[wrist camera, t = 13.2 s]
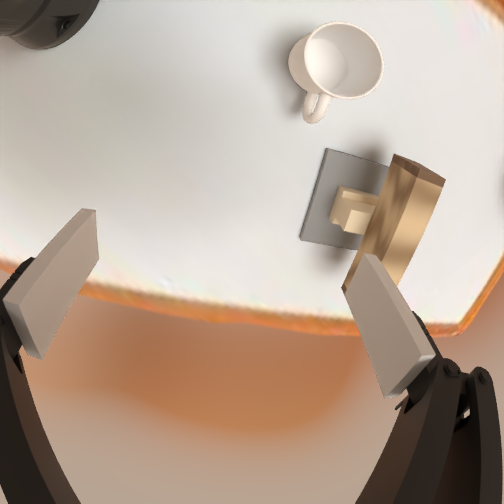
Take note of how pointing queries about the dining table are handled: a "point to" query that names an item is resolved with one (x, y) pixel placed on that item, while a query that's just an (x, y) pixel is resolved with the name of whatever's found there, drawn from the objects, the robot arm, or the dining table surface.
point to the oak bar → (399, 217)
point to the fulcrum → (343, 200)
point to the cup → (335, 66)
